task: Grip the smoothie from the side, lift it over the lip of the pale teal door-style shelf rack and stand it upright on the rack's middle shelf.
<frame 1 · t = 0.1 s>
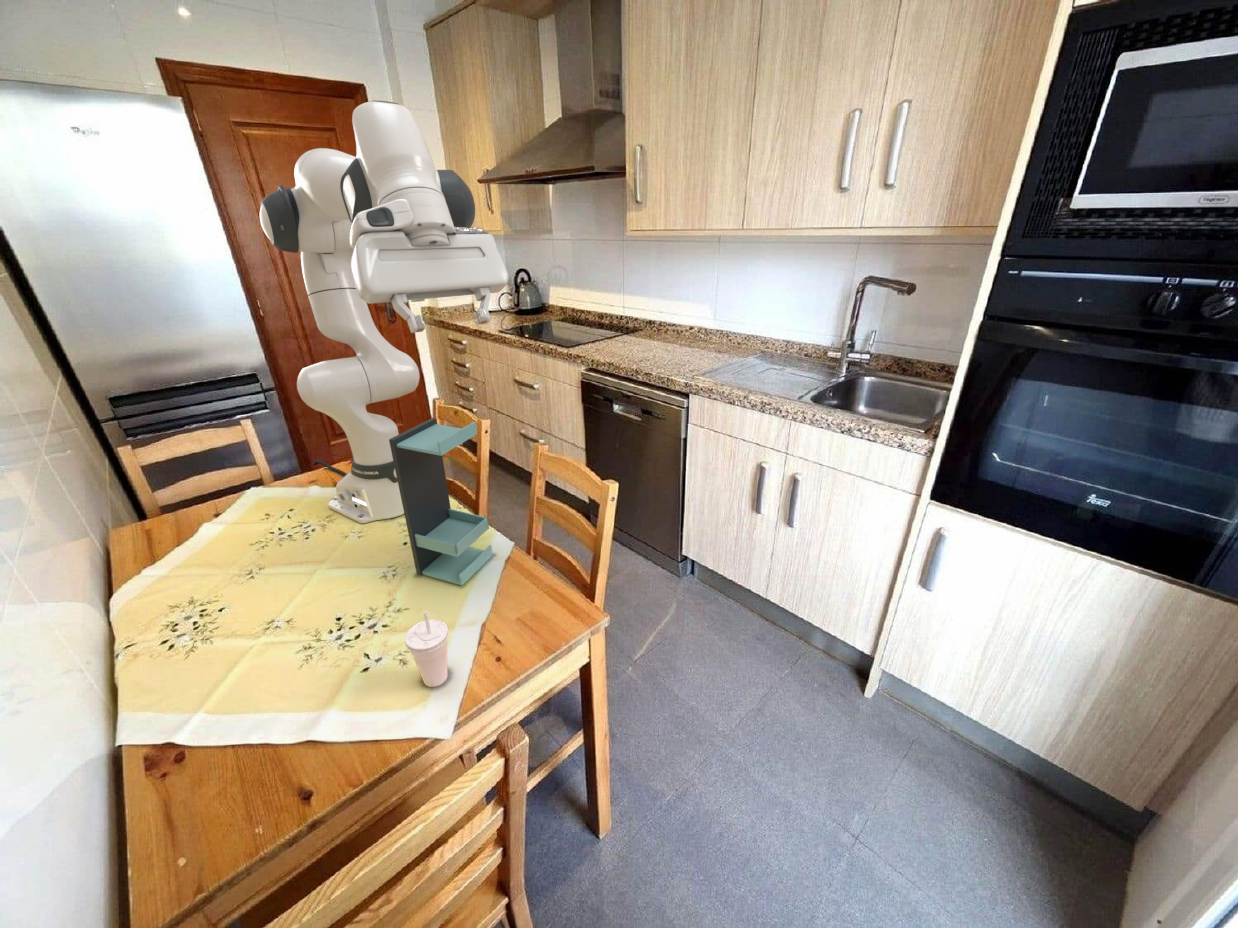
hand: (452, 326, 69), 54 cm above the table, tool tilted 30°, fingers open, 8 cm apart
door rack: (454, 563, 109), on the table
smoothie: (435, 678, 82), on the table
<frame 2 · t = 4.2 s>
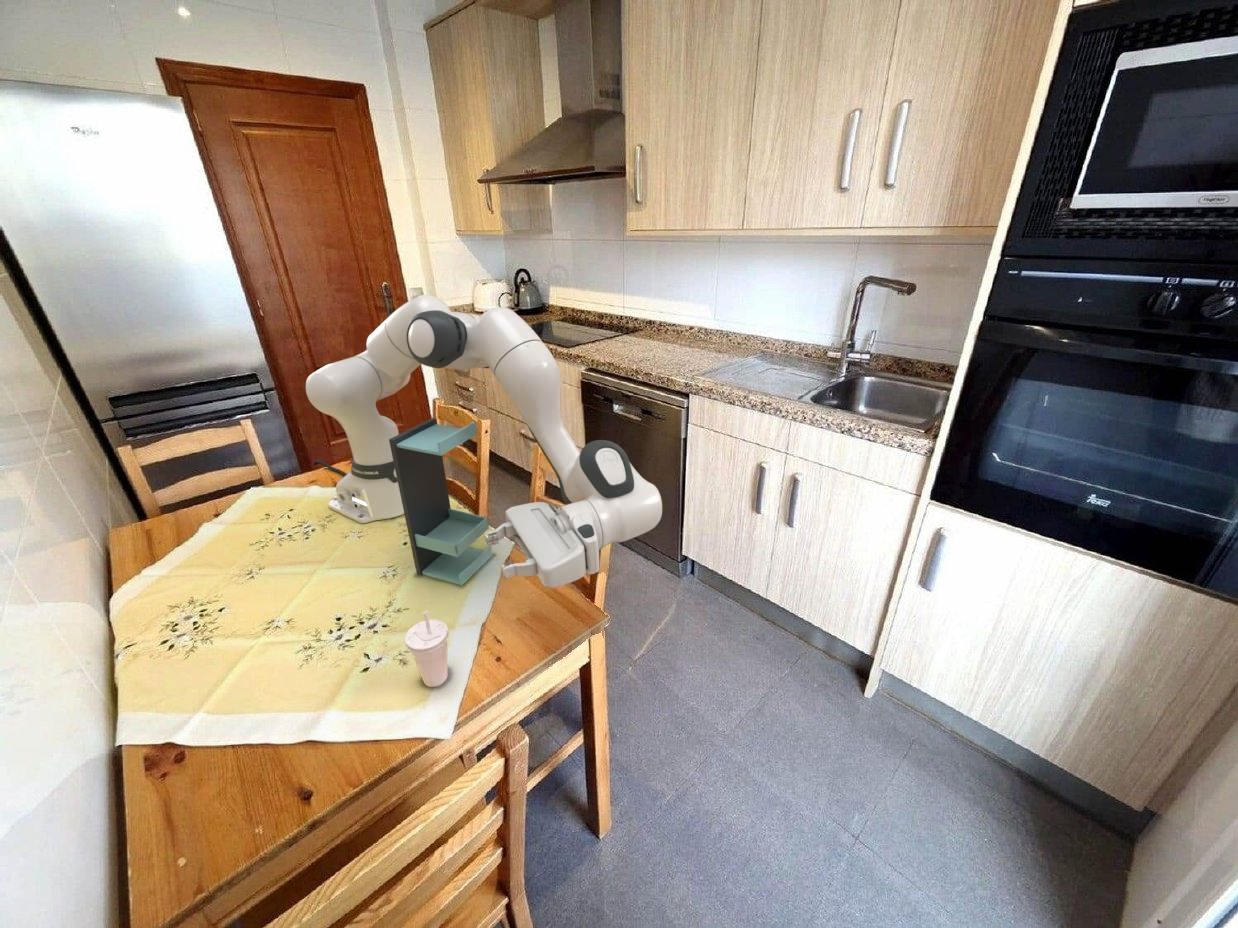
hand: (494, 555, 78), 21 cm above the table, tool horizontal, fingers open, 8 cm apart
nothing on the table moved.
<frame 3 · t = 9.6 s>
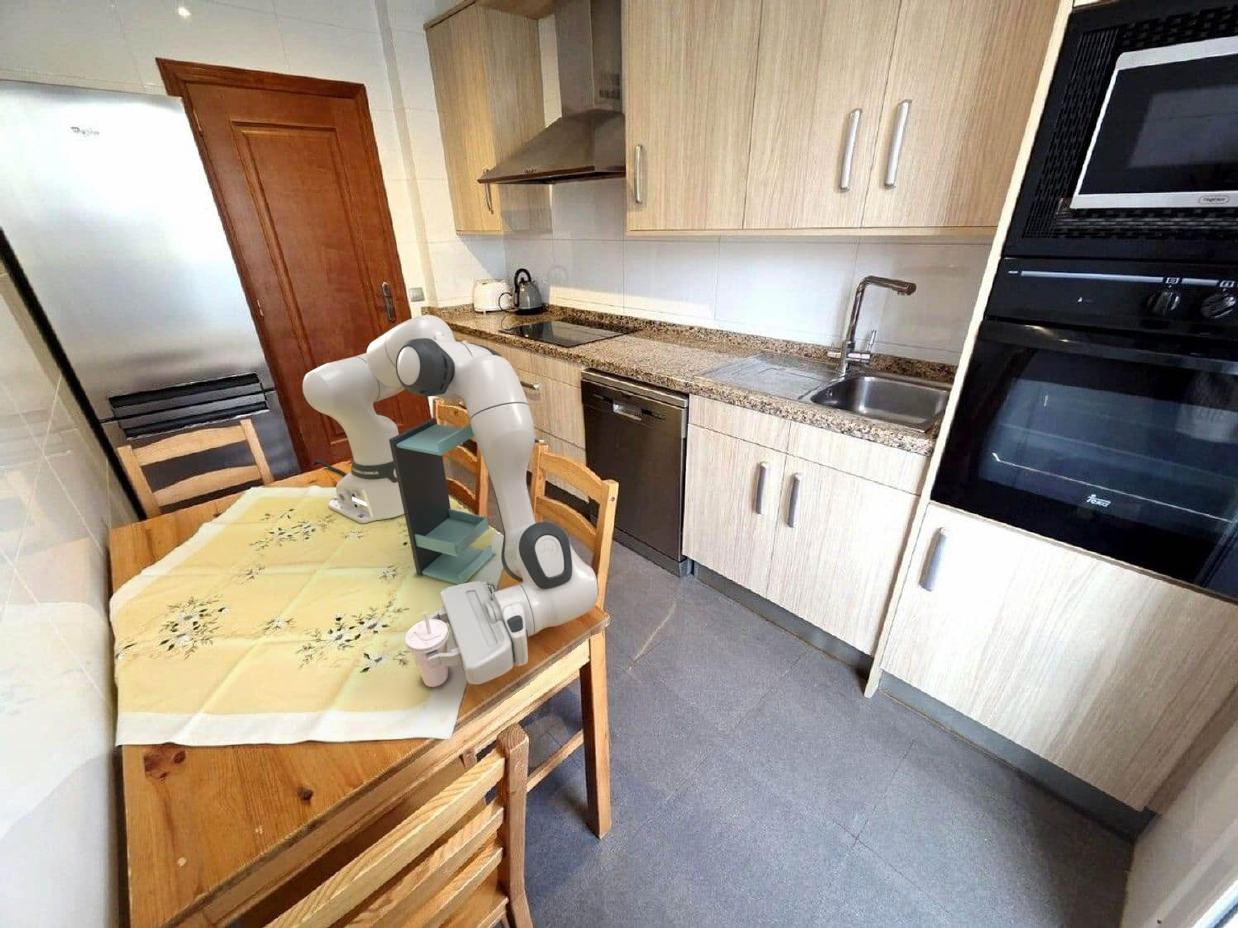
hand: (422, 644, 78), 8 cm above the table, tool horizontal, fingers closed on smoothie, 6 cm apart
smoothie: (436, 678, 82), on the table, touching gripper
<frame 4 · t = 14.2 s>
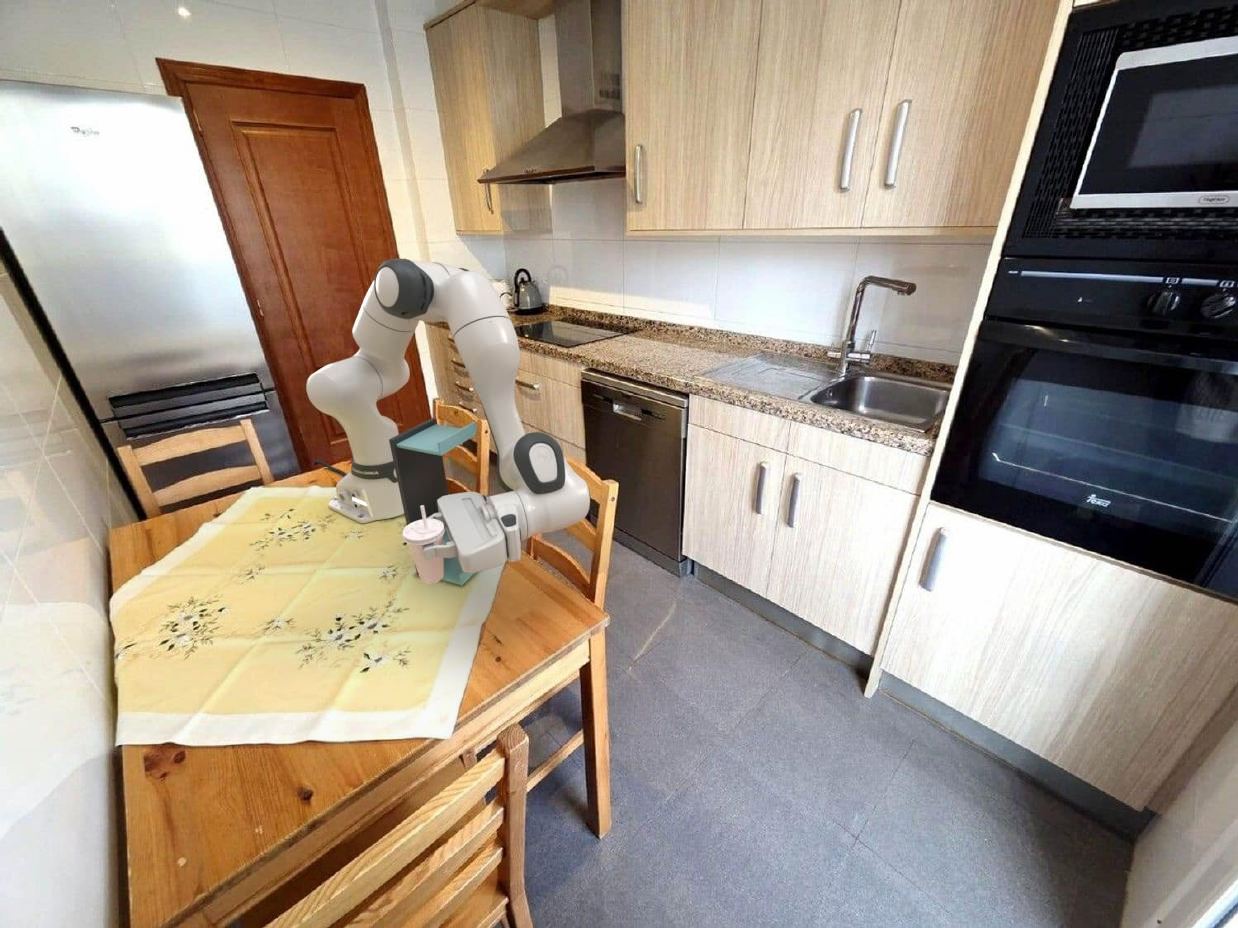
hand: (419, 540, 81), 21 cm above the table, tool horizontal, fingers closed on smoothie, 6 cm apart
smoothie: (432, 577, 85), point 13 cm above the table, touching gripper
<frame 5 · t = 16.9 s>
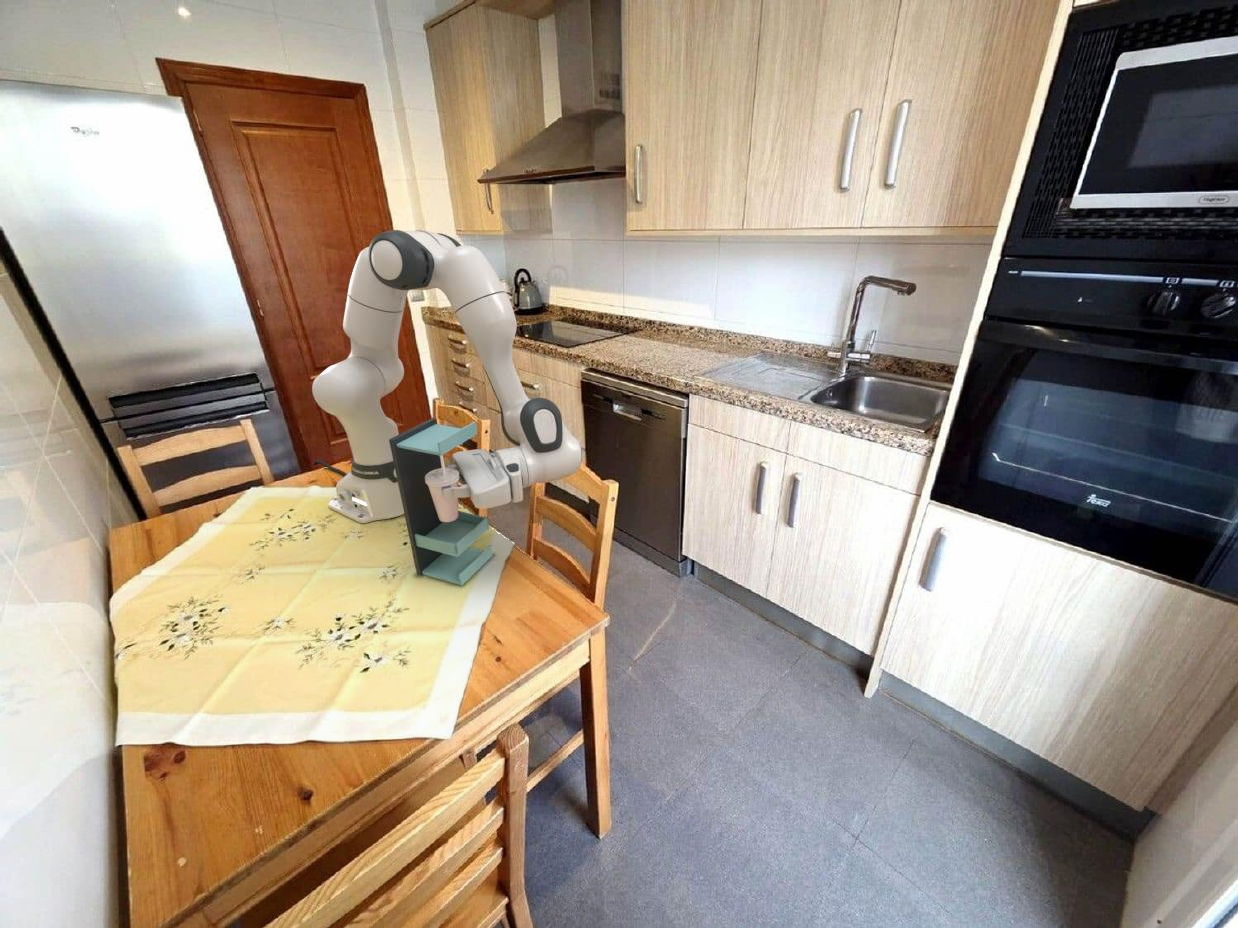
hand: (438, 484, 98), 21 cm above the table, tool horizontal, fingers closed on smoothie, 6 cm apart
smoothie: (448, 517, 102), point 13 cm above the table, touching gripper
when the fingers open (16 cm above the table, at t = 19.2 s): smoothie stays where it is, resting on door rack.
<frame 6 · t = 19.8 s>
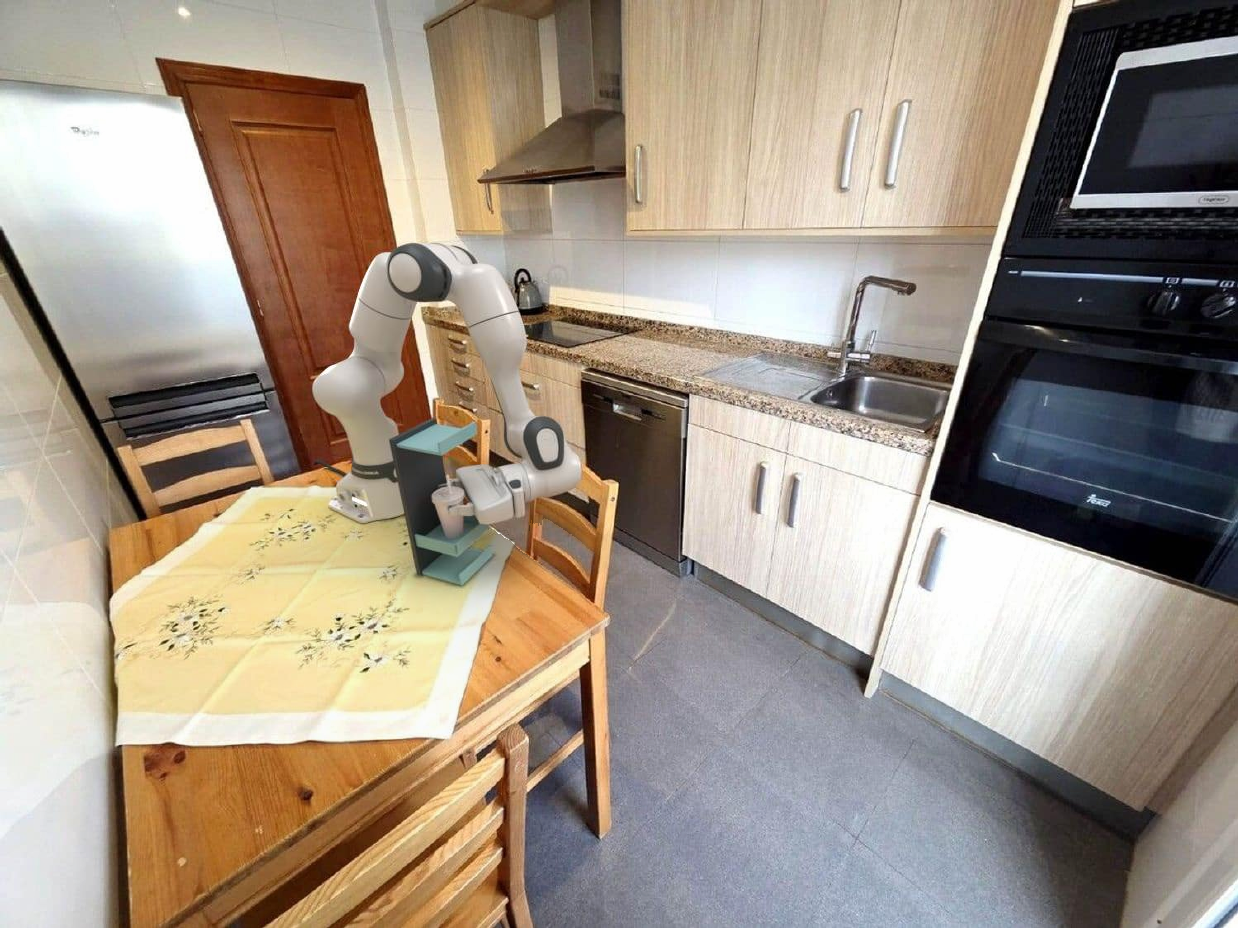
hand: (443, 500, 101), 16 cm above the table, tool horizontal, fingers open, 8 cm apart
smoothie: (454, 534, 105), point 8 cm above the table, touching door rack
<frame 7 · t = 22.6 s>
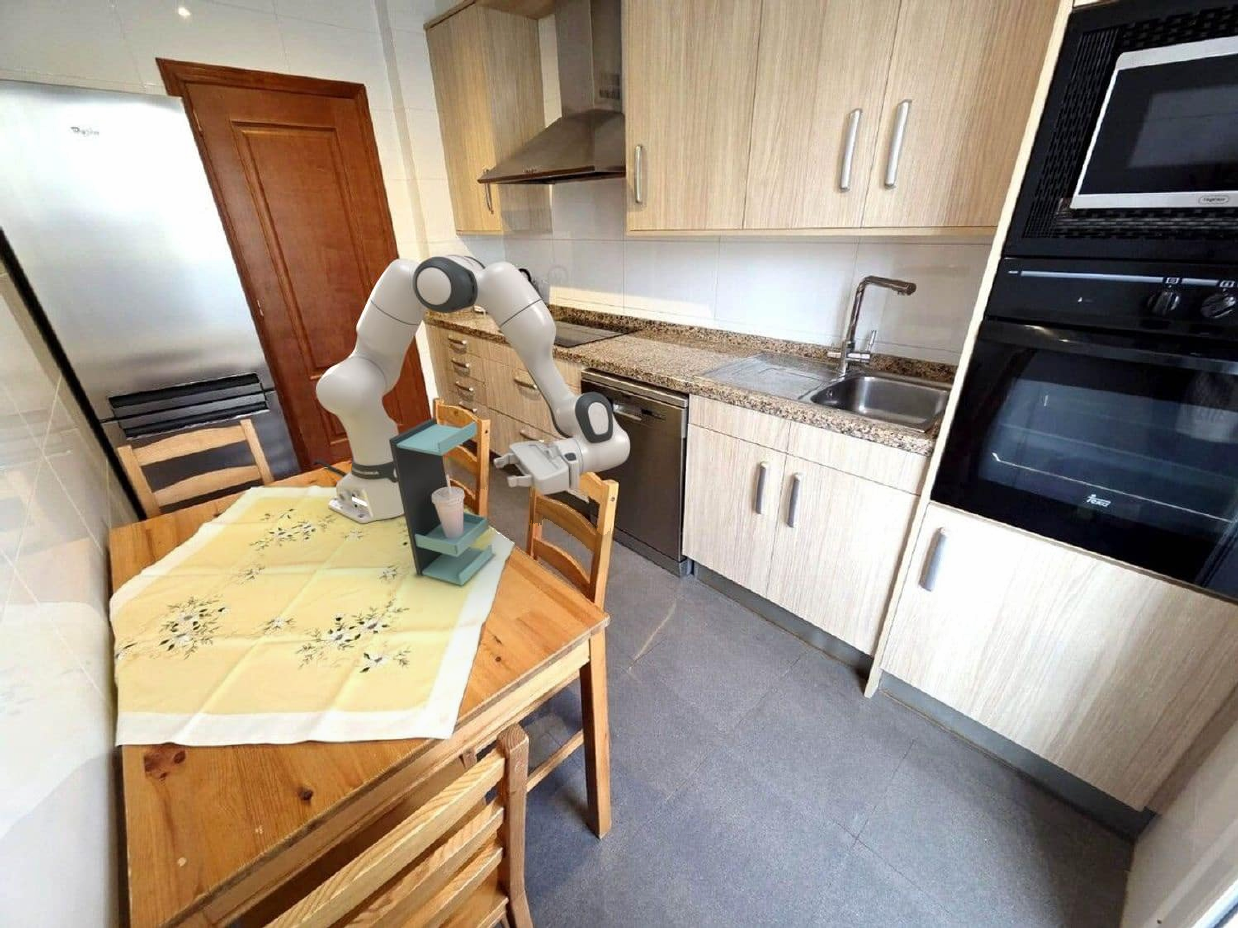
hand: (501, 472, 105), 20 cm above the table, tool horizontal, fingers open, 8 cm apart
nothing on the table moved.
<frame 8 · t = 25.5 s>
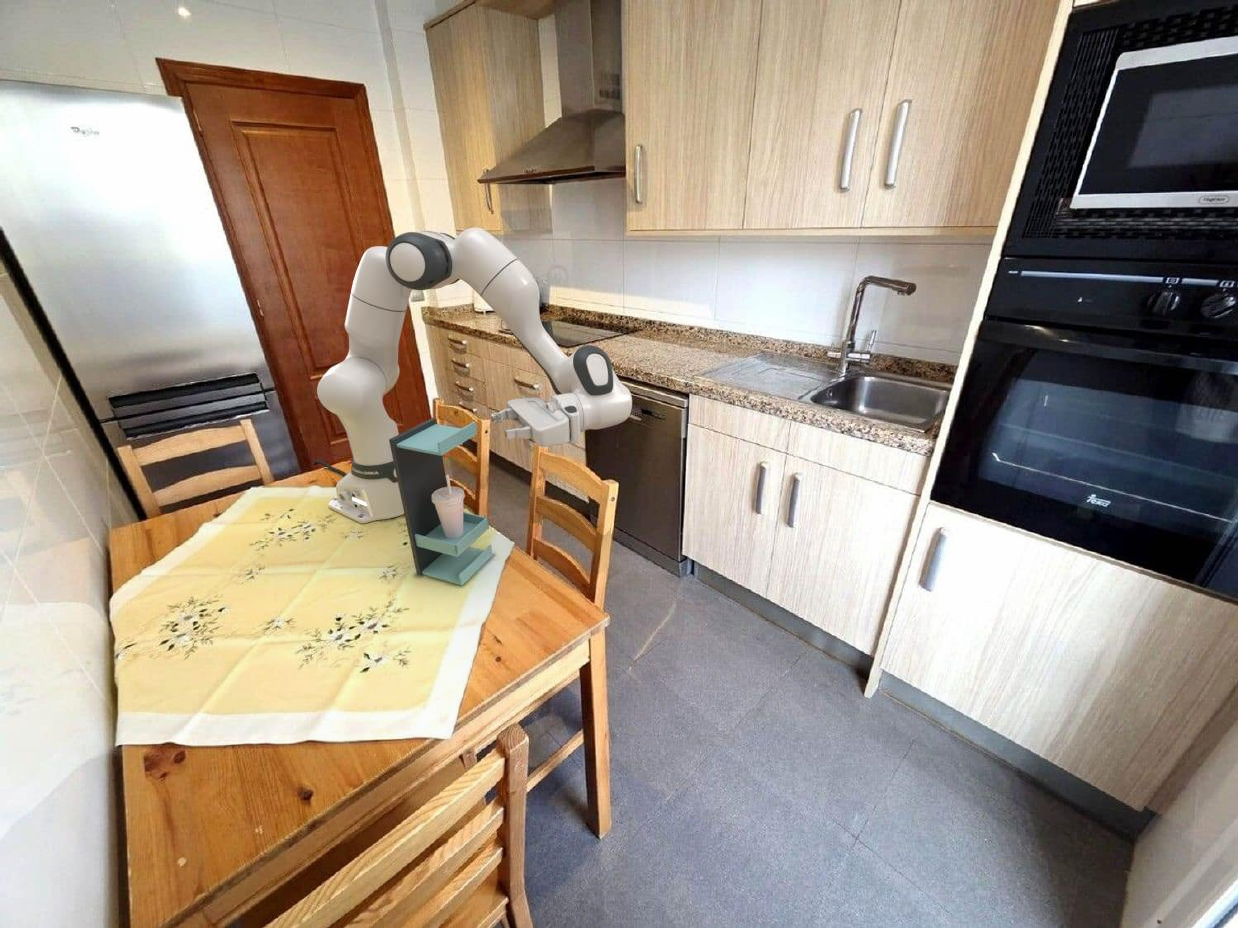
hand: (498, 426, 101), 30 cm above the table, tool horizontal, fingers open, 8 cm apart
nothing on the table moved.
at the end: smoothie inside the target area on the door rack (0.2 cm from its centre), point 7.8 cm above the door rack's base; smoothie tilted 0°; the gripper is holding nothing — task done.
